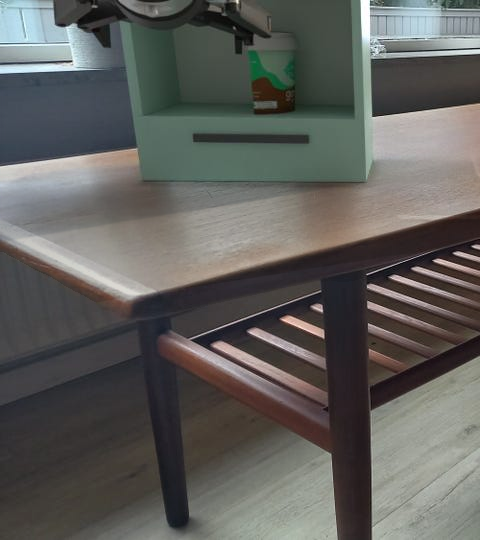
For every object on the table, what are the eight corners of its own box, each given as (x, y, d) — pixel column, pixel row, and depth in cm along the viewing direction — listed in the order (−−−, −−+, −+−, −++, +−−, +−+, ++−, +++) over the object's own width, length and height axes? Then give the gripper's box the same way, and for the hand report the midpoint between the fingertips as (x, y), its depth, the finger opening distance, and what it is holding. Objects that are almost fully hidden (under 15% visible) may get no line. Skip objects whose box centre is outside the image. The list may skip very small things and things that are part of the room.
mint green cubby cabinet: (366, 183, 89) (359, -28, 80) (139, 181, 86) (108, -37, 78) (373, 159, 104) (368, -20, 96) (181, 157, 102) (159, -27, 93)
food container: (303, 116, 88) (298, 33, 85) (253, 116, 87) (246, 32, 83) (304, 104, 99) (299, 31, 96) (259, 104, 98) (253, 30, 95)
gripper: (-20, 8, 54) (49, 67, 74) (307, 28, 62) (290, 77, 82) (-28, -91, 53) (44, -5, 73) (303, -57, 61) (286, 12, 81)
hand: (174, 39), depth 78 cm, fingers open, 13 cm apart
